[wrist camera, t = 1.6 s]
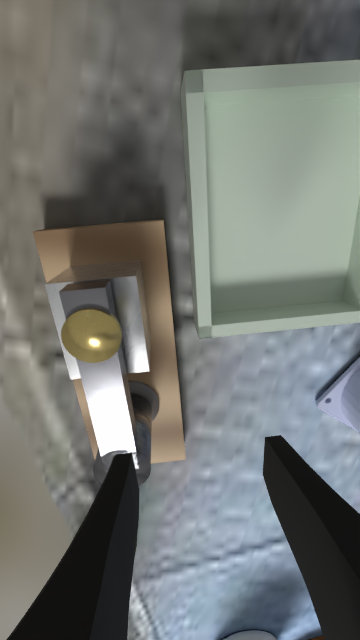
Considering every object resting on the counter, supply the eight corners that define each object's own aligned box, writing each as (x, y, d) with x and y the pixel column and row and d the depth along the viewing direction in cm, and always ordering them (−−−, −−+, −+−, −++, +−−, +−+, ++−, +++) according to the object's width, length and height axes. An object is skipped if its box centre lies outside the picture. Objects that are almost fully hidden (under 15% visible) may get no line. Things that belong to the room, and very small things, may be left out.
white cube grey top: (151, 338, 18) (149, 371, 14) (88, 344, 18) (70, 379, 14) (140, 259, 16) (135, 275, 12) (69, 266, 16) (44, 284, 12)
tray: (347, 307, 20) (372, 321, 17) (194, 323, 19) (199, 338, 17) (387, 77, 15) (428, 55, 12) (180, 91, 14) (184, 70, 12)
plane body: (183, 443, 24) (186, 462, 22) (101, 453, 23) (96, 473, 22) (162, 219, 16) (163, 221, 15) (44, 229, 16) (30, 232, 14)
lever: (154, 425, 20) (153, 489, 15) (111, 430, 19) (98, 496, 15) (131, 263, 15) (119, 287, 11) (75, 268, 15) (41, 294, 11)
